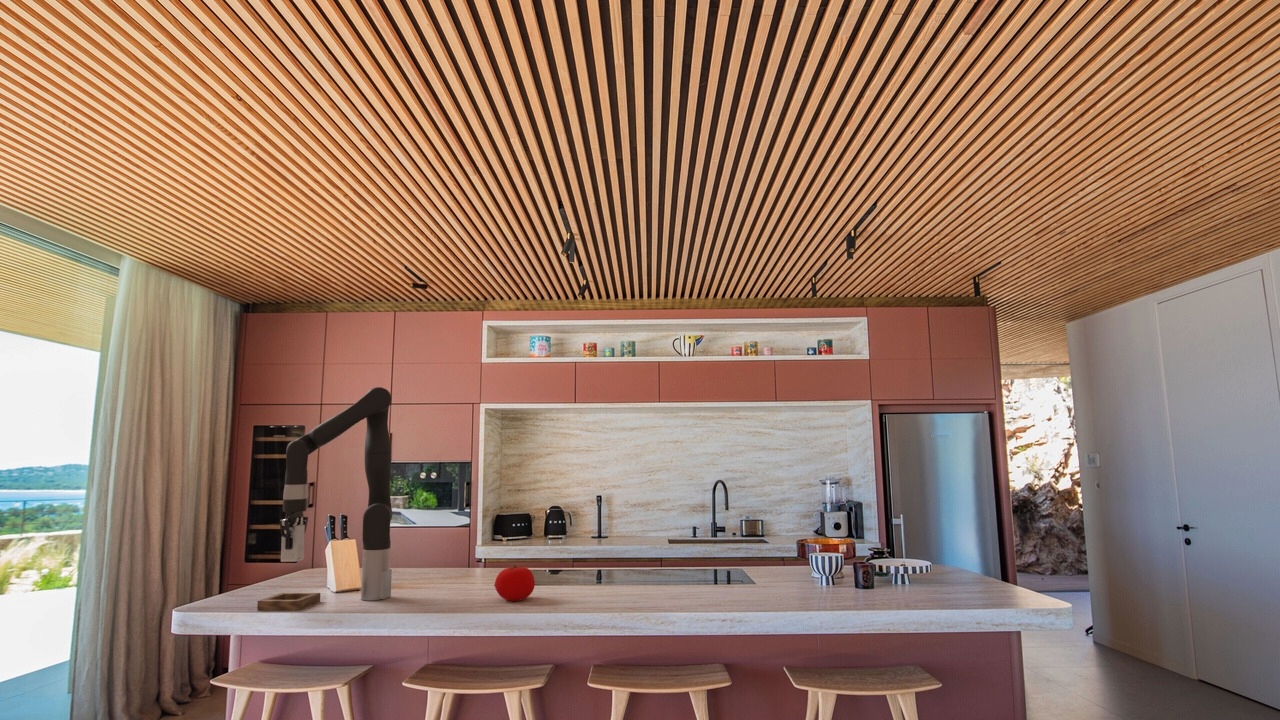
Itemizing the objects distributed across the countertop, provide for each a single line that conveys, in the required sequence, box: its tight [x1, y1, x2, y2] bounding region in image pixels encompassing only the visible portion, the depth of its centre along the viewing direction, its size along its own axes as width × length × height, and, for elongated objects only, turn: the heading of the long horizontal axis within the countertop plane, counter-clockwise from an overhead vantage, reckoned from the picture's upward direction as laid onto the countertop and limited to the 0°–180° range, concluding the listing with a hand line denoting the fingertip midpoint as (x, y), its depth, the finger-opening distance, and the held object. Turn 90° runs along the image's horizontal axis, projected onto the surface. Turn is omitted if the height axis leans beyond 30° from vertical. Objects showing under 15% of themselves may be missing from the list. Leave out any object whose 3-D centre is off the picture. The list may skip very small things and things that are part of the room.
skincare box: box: [280, 525, 306, 563], centre depth 242 cm, size 6×4×12 cm
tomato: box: [494, 564, 536, 602], centre depth 246 cm, size 13×14×12 cm
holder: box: [256, 592, 321, 612], centre depth 239 cm, size 14×14×3 cm
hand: (292, 548), depth 242 cm, fingers closed on skincare box, 4 cm apart
